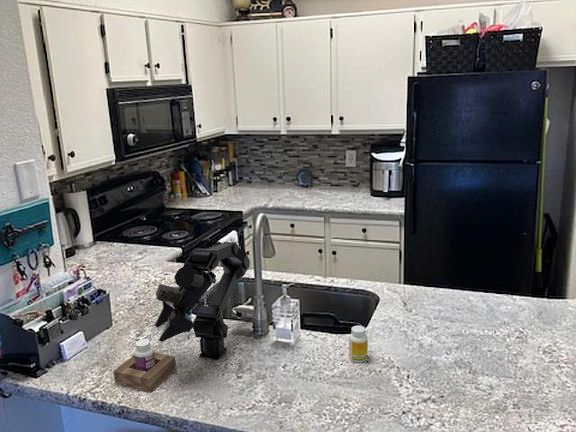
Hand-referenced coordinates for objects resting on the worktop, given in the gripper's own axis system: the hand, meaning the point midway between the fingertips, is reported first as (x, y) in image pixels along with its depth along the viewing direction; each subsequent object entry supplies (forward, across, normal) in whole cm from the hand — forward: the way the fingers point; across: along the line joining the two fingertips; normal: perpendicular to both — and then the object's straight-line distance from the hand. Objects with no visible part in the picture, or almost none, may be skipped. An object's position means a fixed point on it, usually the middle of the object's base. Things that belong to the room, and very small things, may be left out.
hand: (158, 333), depth 147 cm
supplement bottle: (-30, +16, +47) cm, 58 cm away
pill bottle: (+11, 0, +5) cm, 12 cm away
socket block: (+12, 0, +5) cm, 13 cm away
